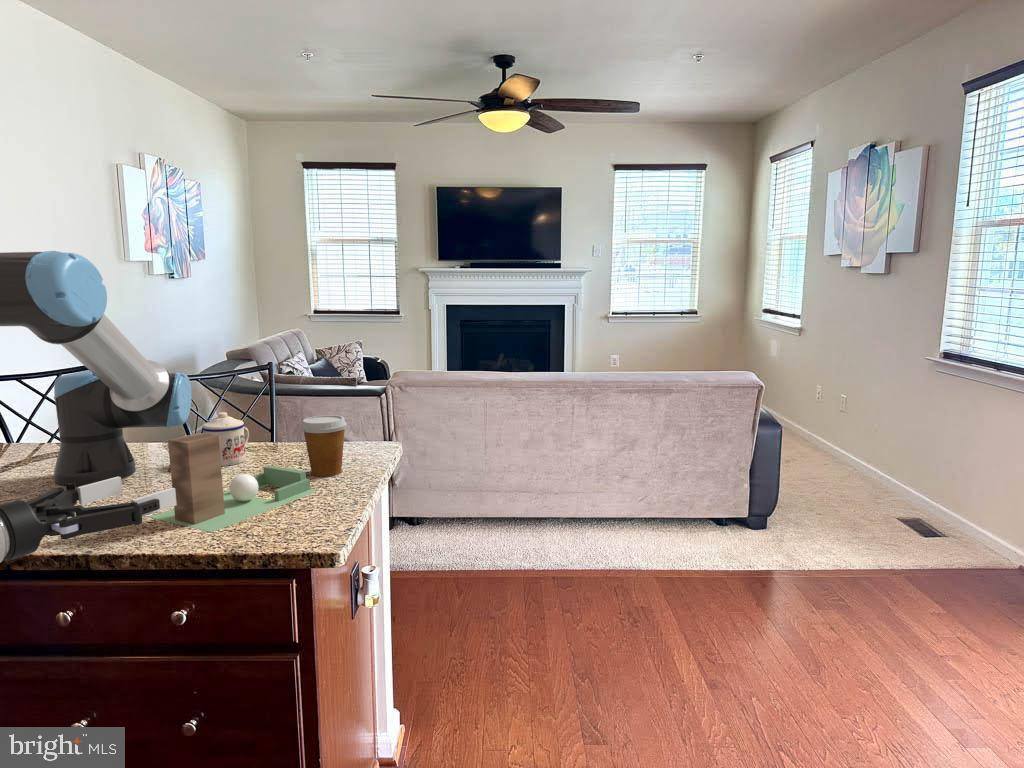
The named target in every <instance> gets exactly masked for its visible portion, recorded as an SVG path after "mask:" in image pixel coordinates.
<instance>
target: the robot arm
mask: <svg viewBox="0 0 1024 768" xmlns="http://www.w3.org/2000/svg"><path fill="white" fill-rule="evenodd" d="M103 280H104V278H103V277H102V274H101V273H100V271H99V269H98V268H97V267H96V265H94V263H93V262H91V260H89V259H88V258H86V257H85V256H83V255H81V254H78V253H74V252H62V251H56V250H47V251H46V250H45V251H21V252H20V251H18V252H17V251H15V252H14V251H12V252H8V251H6V252H0V327H24V328H27V329H28V330H29V331H31V333H33V334H34V335H35V336H36V337H37V338H39V339H40V340H41V341H43V342H45V343H48V344H52V345H61V346H62V347H63V348H64V349H65V350H67V352H69V354H71V355H72V356H73V357H74V358H75V359H76V360H78V361H79V362H80V363H81V364H82V365H83V366H84V367H86V368H87V369H88V370H82V371H78V372H72V373H67V374H63V375H60V376H59V377H57V378H56V379H55V381H54V384H53V385H54V388H53V389H54V392H53V393H54V397H53V399H54V403H55V411H56V418H57V425H58V433H59V441H60V443H59V444H60V447H59V450H58V454H57V458H56V463H55V466H54V470H53V477H54V482H55V483H56V484H57V485H62V486H65V487H61V486H60V487H57V488H55V489H52V490H50V491H48V492H45V493H44V494H41V495H39V496H36V497H34V498H32V499H30V500H28V501H24V500H21V499H17V500H13V501H12V500H11V501H9V502H5V503H1V504H0V563H2V562H3V561H5V562H9V561H12V560H15V559H19V558H20V557H24V556H27V555H30V554H33V553H35V552H36V551H37V550H38V549H39V547H40V545H41V542H42V540H43V539H44V537H48V536H49V537H55V536H56V537H57V536H60V540H68V539H72V538H75V537H79V536H83V535H88V534H93V533H99V532H103V531H108V530H109V531H110V530H113V529H119V528H124V527H129V526H134V527H135V526H140V524H142V523H143V517H145V516H149V515H151V514H154V513H157V512H160V511H162V510H163V511H164V510H166V509H169V508H172V507H173V508H174V506H176V505H177V503H176V492H175V488H172V487H170V488H166V489H163V490H159V491H156V492H153V493H150V494H146V495H144V496H140V497H136V498H133V499H131V502H125V503H116V504H107V505H99V506H90V507H84V506H83V505H86V504H89V503H93V502H96V501H100V500H104V499H106V498H110V497H114V496H117V495H120V494H123V486H122V479H124V478H126V477H129V476H132V475H133V474H134V473H136V471H137V468H136V467H137V466H136V460H135V458H134V457H133V453H132V452H131V450H130V449H129V446H128V444H127V442H126V440H125V438H124V431H123V429H137V428H139V429H140V428H166V429H167V428H168V429H169V428H170V427H171V428H172V427H173V428H174V427H181V426H183V425H184V424H185V423H186V422H187V420H188V418H189V416H190V413H191V407H192V394H193V393H192V384H191V380H190V378H189V376H188V375H187V373H183V372H178V371H176V372H172V373H171V372H169V371H167V369H166V368H165V366H163V365H161V363H159V362H156V361H154V360H149V359H146V357H144V355H142V353H141V352H140V351H139V350H138V349H137V348H136V347H135V345H133V344H132V343H131V342H130V340H129V339H128V338H127V337H126V336H125V335H124V334H123V333H122V332H121V331H120V329H119V328H118V327H117V326H116V325H115V324H114V323H113V322H112V321H111V320H110V319H109V317H108V316H107V315H106V314H105V312H106V309H107V304H108V294H107V293H108V292H107V287H106V285H105V284H103ZM76 486H78V487H77V489H76ZM77 504H78V505H77Z"/></svg>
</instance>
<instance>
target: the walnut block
mask: <svg viewBox="0 0 1024 768" xmlns="http://www.w3.org/2000/svg"><path fill="white" fill-rule="evenodd" d="M167 444H168V456H169V467H170V468H169V469H170V477H171V488H175V492H176V503H177V505H176V506H173V509H174V512H175V520H177V521H181V522H185V523H190V524H194V525H195V524H198V523H201V522H204V521H206V520H209V519H212V518H214V517H217V516H220V515H223V514H225V510H224V497H223V492H224V488H223V474H222V466H221V459H220V447H219V436H218V435H211V434H204V433H203V432H197V433H192V434H188V435H183V436H181V437H175V438H171V439H167Z"/></svg>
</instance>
